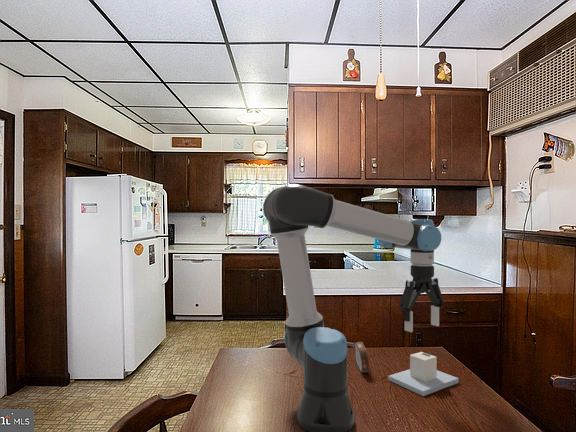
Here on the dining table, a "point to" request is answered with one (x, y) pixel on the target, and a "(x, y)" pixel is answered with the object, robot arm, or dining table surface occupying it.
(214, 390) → the dining table surface
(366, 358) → the tin
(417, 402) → the dining table surface
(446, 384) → the panel
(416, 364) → the cream box with handle
